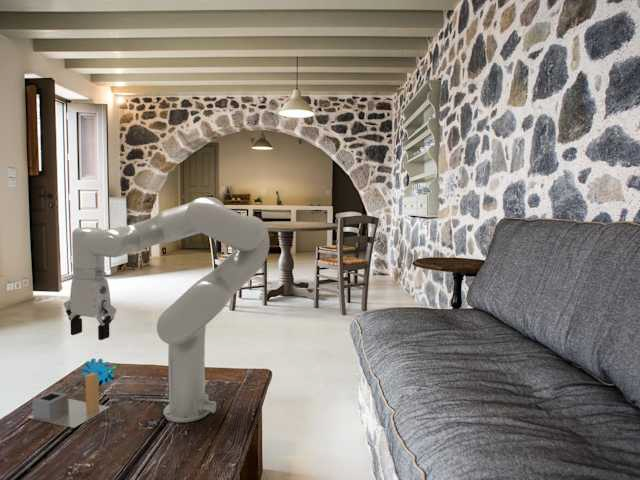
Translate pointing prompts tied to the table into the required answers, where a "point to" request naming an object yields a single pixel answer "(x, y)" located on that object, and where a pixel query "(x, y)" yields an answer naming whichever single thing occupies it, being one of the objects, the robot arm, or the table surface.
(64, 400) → the grey square socket base
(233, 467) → the table surface
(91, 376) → the tan square peg
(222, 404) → the table surface
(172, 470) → the table surface
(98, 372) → the blue spiky virus toy
